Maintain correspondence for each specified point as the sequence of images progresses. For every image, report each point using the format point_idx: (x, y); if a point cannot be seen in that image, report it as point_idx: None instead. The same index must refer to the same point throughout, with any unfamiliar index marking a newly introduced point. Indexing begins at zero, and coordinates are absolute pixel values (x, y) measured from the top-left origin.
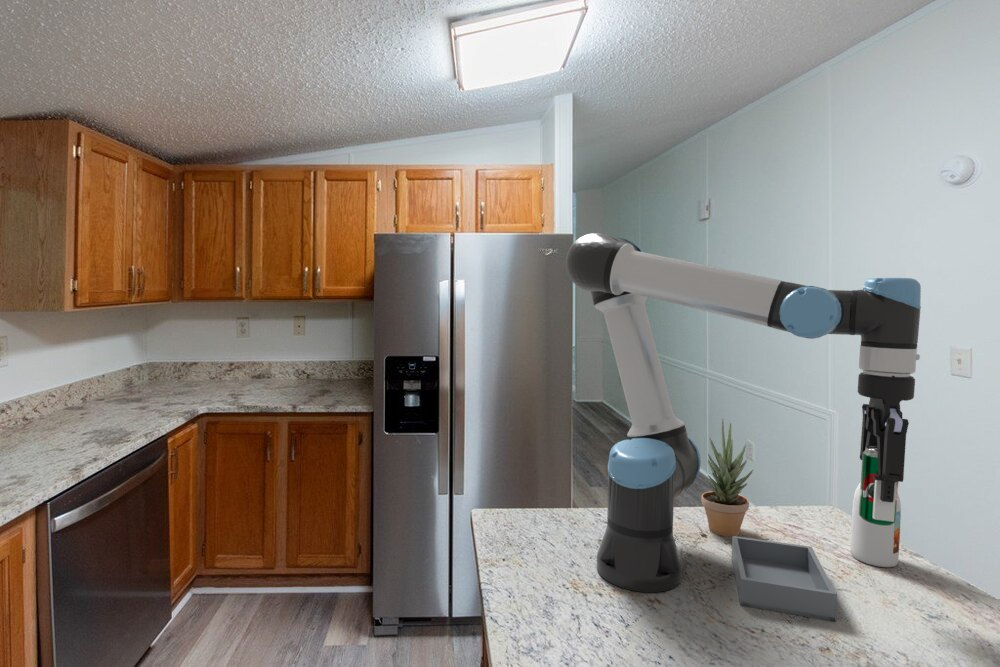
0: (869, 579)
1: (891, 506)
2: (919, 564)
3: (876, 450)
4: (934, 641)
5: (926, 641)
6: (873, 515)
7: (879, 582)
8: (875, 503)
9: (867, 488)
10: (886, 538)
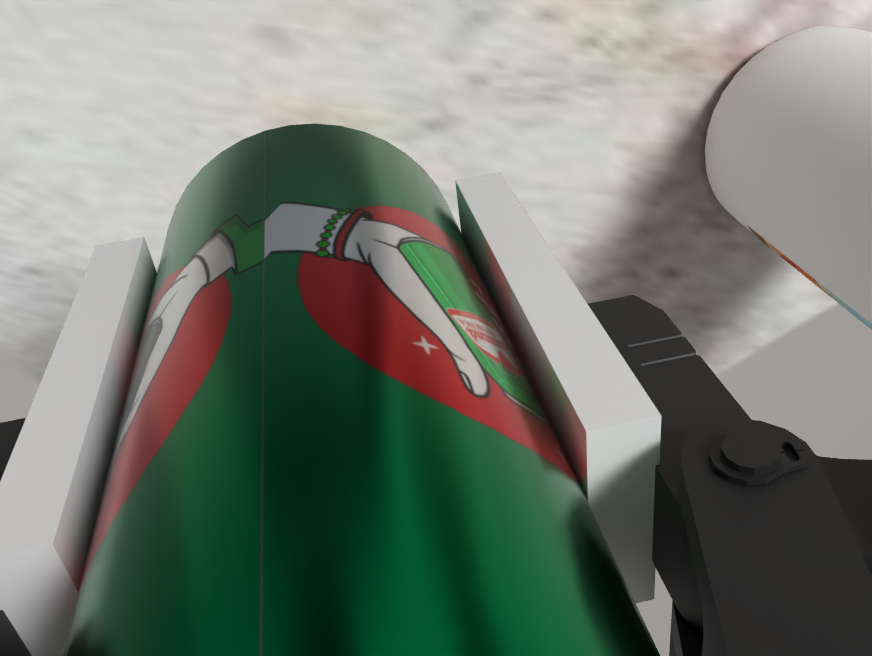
0: (547, 82)
1: None
2: (786, 299)
3: None
4: (56, 262)
5: (32, 235)
6: (114, 255)
7: (532, 123)
8: (61, 336)
9: (169, 337)
10: (779, 226)
